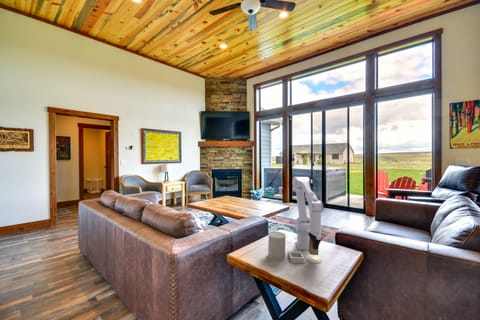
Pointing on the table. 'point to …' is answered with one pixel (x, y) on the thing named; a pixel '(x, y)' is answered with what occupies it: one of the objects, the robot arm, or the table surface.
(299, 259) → the pocket
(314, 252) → the walnut block
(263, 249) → the table surface
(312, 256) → the coaster
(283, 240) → the grey cylinder
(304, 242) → the robot arm
